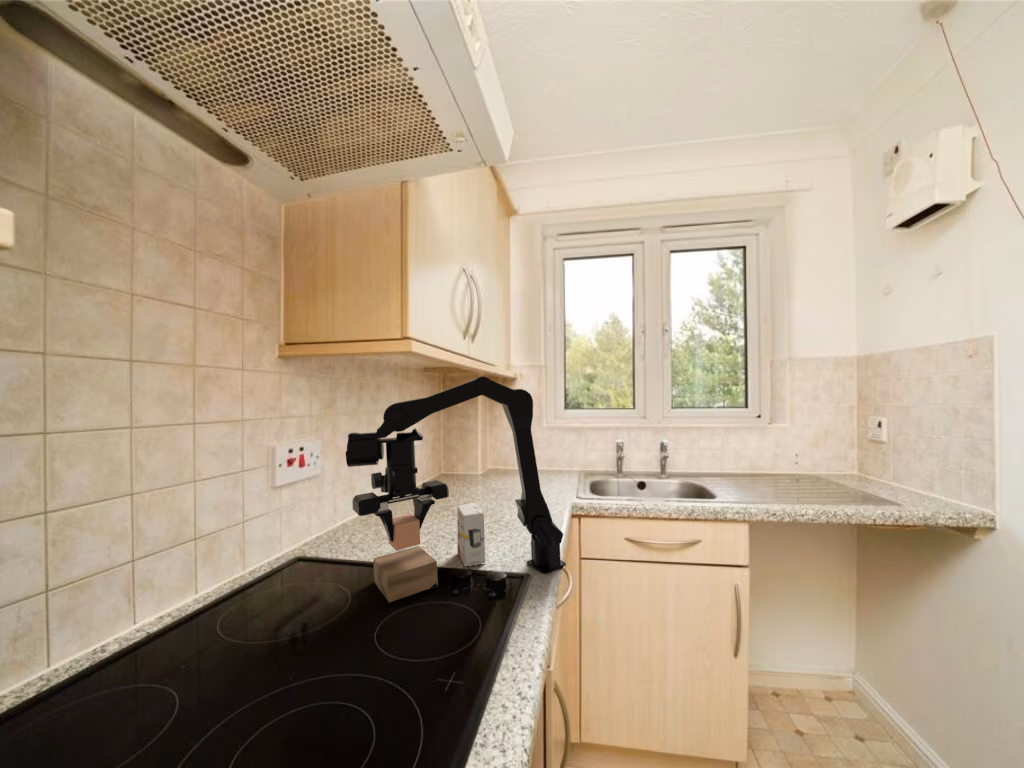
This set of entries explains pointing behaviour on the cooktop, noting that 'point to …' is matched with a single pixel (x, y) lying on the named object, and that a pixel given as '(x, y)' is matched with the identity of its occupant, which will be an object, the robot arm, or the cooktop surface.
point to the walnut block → (405, 573)
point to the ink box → (471, 534)
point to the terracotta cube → (405, 532)
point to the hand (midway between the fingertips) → (404, 537)
